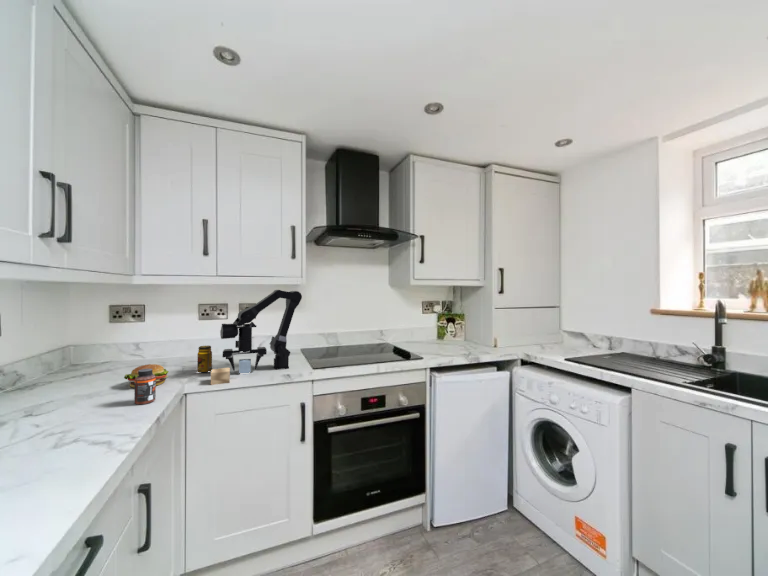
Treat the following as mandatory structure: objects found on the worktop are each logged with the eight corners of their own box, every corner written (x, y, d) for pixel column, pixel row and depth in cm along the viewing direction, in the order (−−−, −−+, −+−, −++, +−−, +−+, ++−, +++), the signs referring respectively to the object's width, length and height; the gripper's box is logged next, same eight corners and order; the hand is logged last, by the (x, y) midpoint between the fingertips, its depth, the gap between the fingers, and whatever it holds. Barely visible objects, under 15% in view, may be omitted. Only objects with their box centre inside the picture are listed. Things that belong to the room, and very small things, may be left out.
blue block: (250, 371, 154) (250, 358, 153) (250, 373, 149) (250, 361, 149) (239, 372, 152) (239, 359, 151) (238, 374, 147) (239, 361, 147)
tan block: (229, 378, 141) (229, 367, 141) (229, 383, 135) (229, 371, 135) (211, 380, 138) (211, 369, 138) (210, 385, 132) (210, 373, 132)
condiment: (193, 373, 148) (193, 347, 148) (203, 368, 157) (203, 344, 157) (208, 373, 148) (209, 347, 148) (218, 368, 157) (218, 344, 157)
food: (155, 377, 141) (156, 359, 141) (174, 382, 135) (174, 363, 135) (118, 386, 129) (118, 366, 129) (136, 391, 122) (137, 371, 122)
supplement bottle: (157, 402, 112) (157, 370, 112) (135, 406, 108) (135, 373, 107) (153, 397, 116) (154, 366, 116) (133, 401, 112) (133, 369, 112)
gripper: (265, 333, 161) (265, 364, 161) (224, 335, 154) (223, 367, 154) (266, 337, 151) (266, 370, 151) (222, 339, 144) (222, 373, 144)
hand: (244, 370), depth 150 cm, fingers open, 9 cm apart
